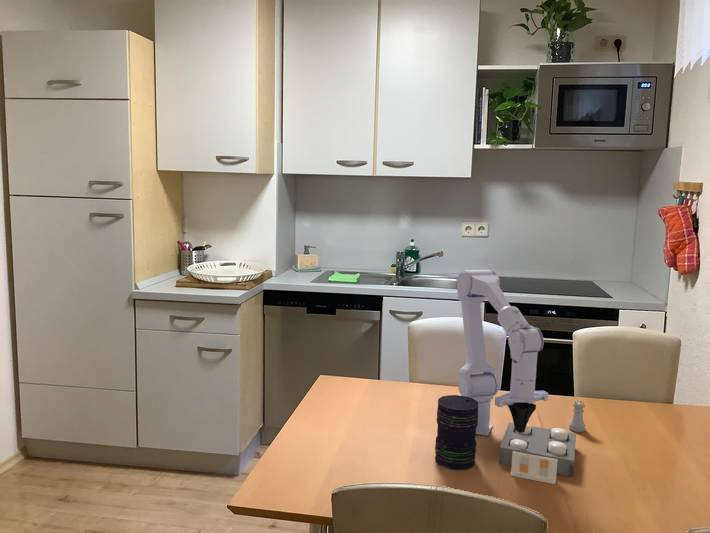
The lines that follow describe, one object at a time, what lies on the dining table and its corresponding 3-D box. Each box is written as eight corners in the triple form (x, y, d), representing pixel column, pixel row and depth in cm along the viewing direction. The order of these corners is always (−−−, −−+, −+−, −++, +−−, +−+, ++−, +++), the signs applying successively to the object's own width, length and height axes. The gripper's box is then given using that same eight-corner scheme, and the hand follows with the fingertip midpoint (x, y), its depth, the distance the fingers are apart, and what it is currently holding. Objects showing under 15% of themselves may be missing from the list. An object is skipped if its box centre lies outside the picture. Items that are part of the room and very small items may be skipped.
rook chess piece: (586, 433, 168) (588, 405, 167) (569, 431, 169) (571, 404, 168) (583, 427, 172) (586, 400, 171) (567, 425, 173) (569, 398, 172)
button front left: (508, 456, 150) (509, 444, 149) (510, 450, 153) (511, 438, 153) (525, 459, 148) (526, 447, 148) (527, 453, 152) (527, 441, 151)
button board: (498, 462, 149) (499, 447, 148) (508, 436, 164) (509, 422, 164) (572, 476, 143) (574, 460, 142) (575, 448, 158) (576, 433, 158)
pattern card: (510, 475, 142) (511, 454, 142) (512, 470, 145) (513, 449, 144) (555, 484, 139) (557, 462, 138) (556, 478, 142) (557, 457, 141)
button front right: (547, 459, 146) (548, 446, 146) (548, 452, 150) (549, 440, 150) (564, 462, 145) (565, 449, 144) (565, 455, 149) (566, 443, 148)
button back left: (513, 438, 158) (514, 426, 157) (515, 432, 162) (516, 420, 161) (529, 441, 156) (530, 429, 156) (531, 435, 160) (531, 423, 160)
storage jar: (450, 473, 142) (453, 412, 140) (426, 456, 151) (429, 398, 149) (484, 465, 147) (487, 406, 145) (459, 449, 156) (462, 392, 154)
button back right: (549, 444, 155) (550, 432, 154) (551, 438, 158) (551, 426, 158) (566, 447, 153) (567, 435, 153) (567, 441, 157) (568, 429, 156)
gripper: (509, 385, 142) (505, 441, 143) (558, 379, 147) (554, 433, 149) (490, 376, 148) (487, 430, 150) (538, 370, 154) (534, 422, 156)
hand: (519, 431), depth 150 cm, fingers closed
